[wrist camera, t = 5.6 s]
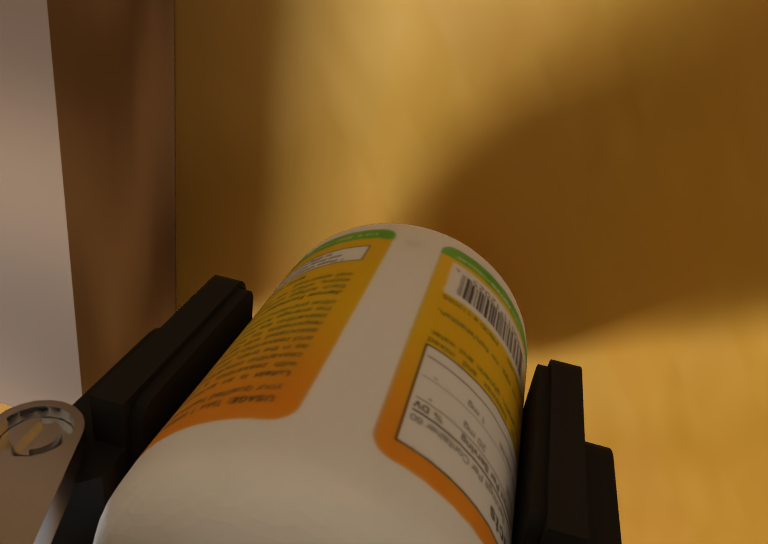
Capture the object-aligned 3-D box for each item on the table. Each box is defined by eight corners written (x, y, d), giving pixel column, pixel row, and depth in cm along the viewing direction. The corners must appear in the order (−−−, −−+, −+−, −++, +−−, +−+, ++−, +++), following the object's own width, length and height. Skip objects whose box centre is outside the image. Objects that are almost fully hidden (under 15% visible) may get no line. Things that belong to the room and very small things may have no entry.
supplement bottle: (272, 388, 16) (-57, 897, 7) (302, 184, 13) (-152, 610, 5) (489, 459, 15) (397, 1102, 7) (565, 260, 13) (569, 900, 4)
